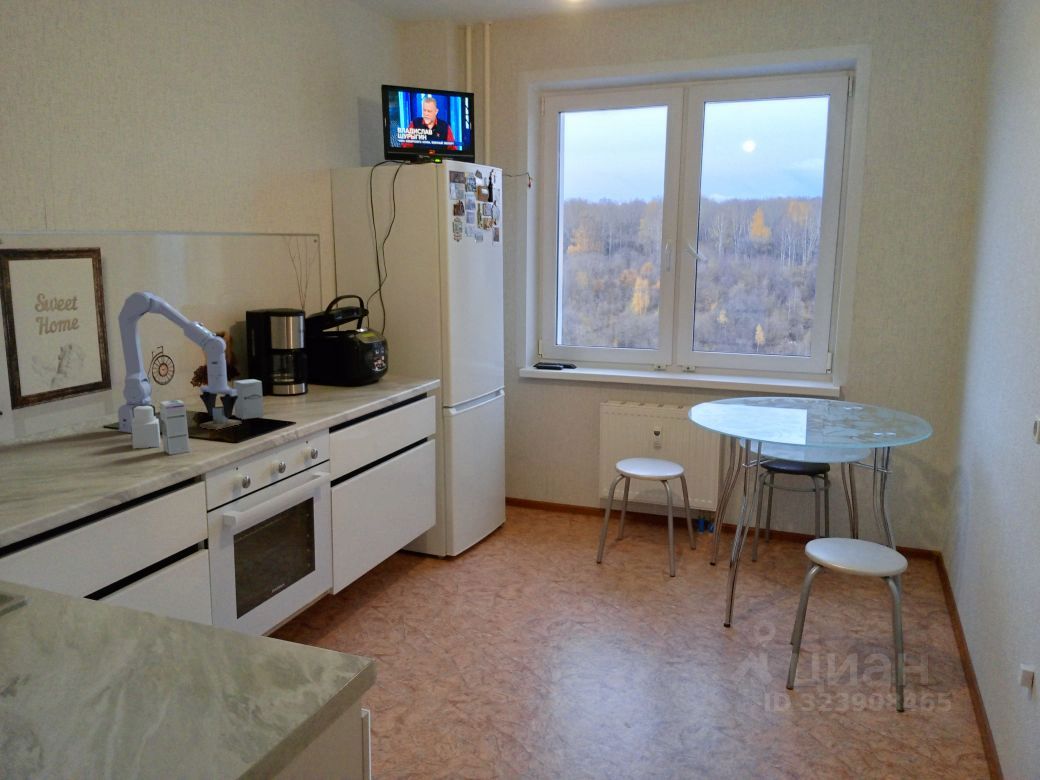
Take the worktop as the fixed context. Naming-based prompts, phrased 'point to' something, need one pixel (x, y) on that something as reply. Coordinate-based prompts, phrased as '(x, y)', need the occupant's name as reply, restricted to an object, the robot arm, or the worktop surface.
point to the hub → (219, 415)
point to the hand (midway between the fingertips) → (220, 416)
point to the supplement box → (248, 399)
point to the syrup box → (174, 427)
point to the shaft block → (219, 426)
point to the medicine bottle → (145, 427)
